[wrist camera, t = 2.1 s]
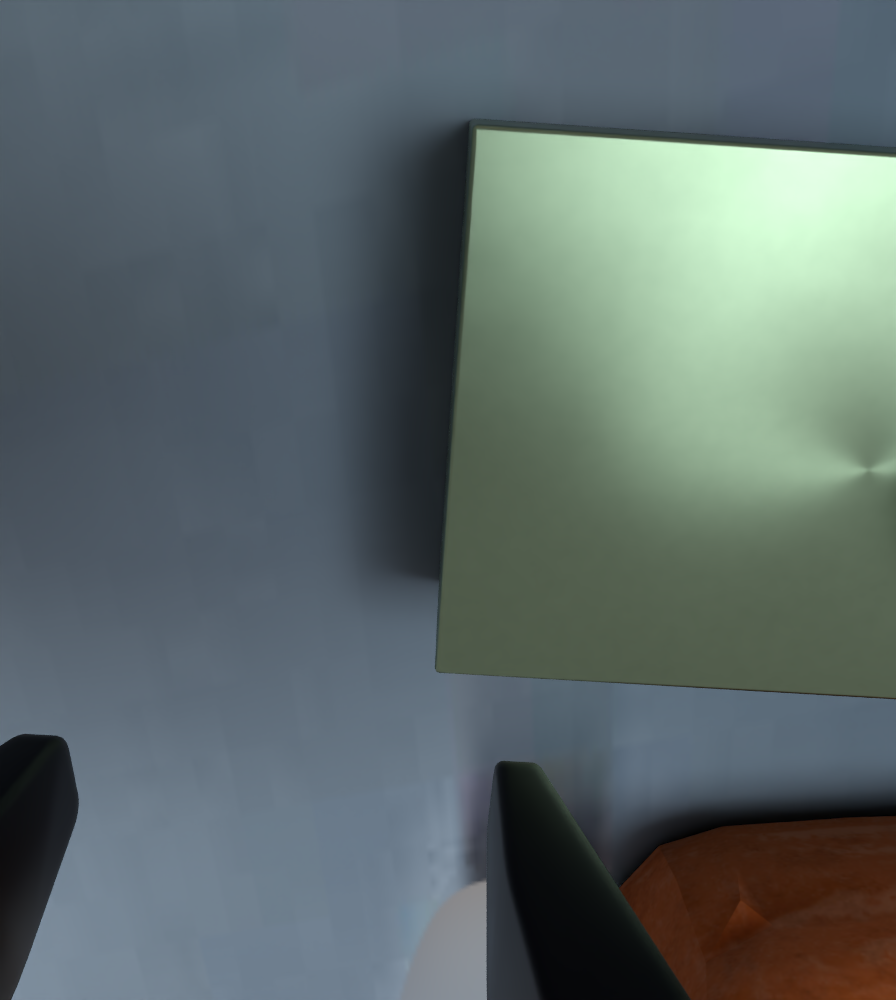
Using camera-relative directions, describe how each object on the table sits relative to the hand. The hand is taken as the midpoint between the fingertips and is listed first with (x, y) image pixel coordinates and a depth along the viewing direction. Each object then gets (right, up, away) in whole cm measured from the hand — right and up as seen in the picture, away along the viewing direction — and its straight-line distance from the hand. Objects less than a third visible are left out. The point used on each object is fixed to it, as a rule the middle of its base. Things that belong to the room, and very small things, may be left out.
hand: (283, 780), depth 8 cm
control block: (+10, +5, +11) cm, 15 cm away
